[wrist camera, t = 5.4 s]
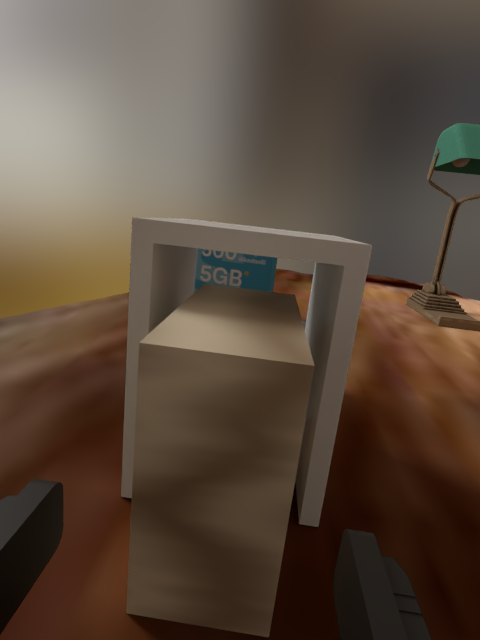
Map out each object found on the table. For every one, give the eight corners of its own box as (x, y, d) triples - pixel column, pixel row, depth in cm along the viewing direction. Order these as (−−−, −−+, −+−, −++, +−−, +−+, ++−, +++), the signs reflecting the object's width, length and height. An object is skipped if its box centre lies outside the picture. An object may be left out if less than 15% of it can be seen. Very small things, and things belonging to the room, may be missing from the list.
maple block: (126, 614, 15) (139, 342, 12) (190, 443, 27) (204, 283, 24) (268, 638, 15) (314, 365, 12) (270, 455, 26) (294, 294, 24)
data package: (191, 308, 64) (197, 233, 61) (201, 303, 68) (207, 232, 65) (264, 321, 61) (274, 242, 58) (269, 315, 65) (279, 241, 62)
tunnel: (121, 496, 21) (132, 217, 17) (172, 404, 32) (186, 218, 28) (318, 527, 21) (372, 245, 17) (303, 422, 31) (334, 235, 28)
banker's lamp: (460, 311, 89) (503, 145, 81) (512, 337, 69) (577, 119, 60) (389, 302, 91) (424, 137, 82) (420, 325, 70) (470, 110, 62)
